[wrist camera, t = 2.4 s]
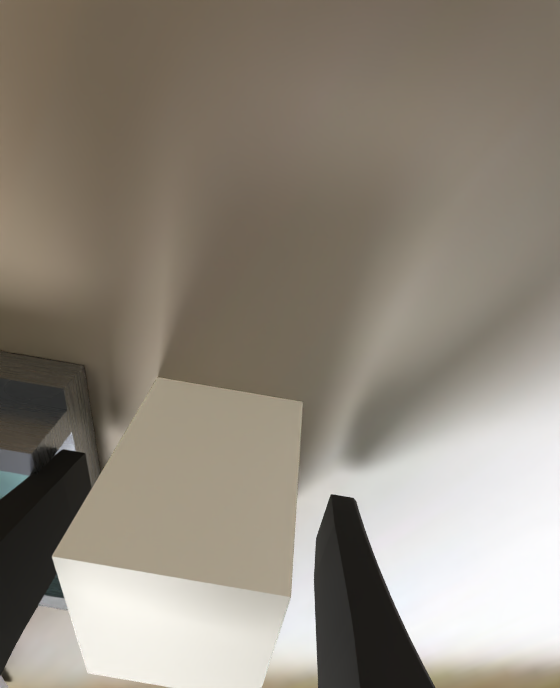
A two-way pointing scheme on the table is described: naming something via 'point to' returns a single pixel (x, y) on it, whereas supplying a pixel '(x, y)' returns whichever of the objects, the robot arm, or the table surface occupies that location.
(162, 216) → the table surface
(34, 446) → the sliding window
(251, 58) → the table surface
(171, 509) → the white cardboard box
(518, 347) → the table surface
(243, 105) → the table surface
